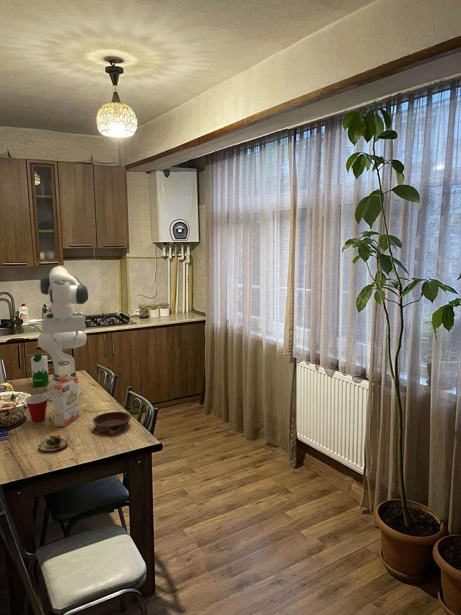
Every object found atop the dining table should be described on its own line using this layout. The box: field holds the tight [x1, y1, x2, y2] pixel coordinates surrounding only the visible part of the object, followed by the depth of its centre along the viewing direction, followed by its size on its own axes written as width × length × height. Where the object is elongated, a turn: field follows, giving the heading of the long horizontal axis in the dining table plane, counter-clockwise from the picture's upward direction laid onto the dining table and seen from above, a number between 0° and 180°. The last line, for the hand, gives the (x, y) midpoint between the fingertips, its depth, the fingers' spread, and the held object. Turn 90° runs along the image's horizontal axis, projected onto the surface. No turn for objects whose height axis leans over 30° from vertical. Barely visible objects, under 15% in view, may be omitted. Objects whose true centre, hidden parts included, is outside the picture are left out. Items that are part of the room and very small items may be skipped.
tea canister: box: [58, 361, 71, 382], centre depth 222 cm, size 6×6×9 cm
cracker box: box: [52, 376, 80, 428], centre depth 224 cm, size 14×6×21 cm, turn 168°
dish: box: [92, 411, 132, 435], centre depth 217 cm, size 18×22×5 cm
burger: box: [38, 432, 69, 452], centre depth 197 cm, size 12×12×8 cm
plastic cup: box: [24, 393, 49, 424], centre depth 226 cm, size 11×11×12 cm
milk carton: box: [30, 353, 50, 388], centre depth 283 cm, size 9×9×20 cm
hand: (64, 341), depth 226 cm, fingers open, 8 cm apart
